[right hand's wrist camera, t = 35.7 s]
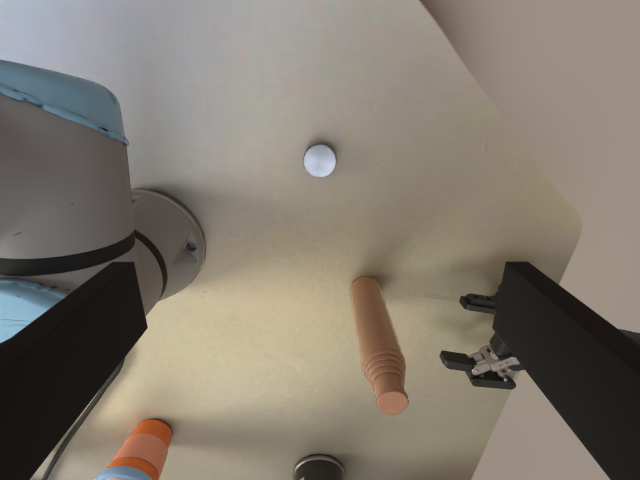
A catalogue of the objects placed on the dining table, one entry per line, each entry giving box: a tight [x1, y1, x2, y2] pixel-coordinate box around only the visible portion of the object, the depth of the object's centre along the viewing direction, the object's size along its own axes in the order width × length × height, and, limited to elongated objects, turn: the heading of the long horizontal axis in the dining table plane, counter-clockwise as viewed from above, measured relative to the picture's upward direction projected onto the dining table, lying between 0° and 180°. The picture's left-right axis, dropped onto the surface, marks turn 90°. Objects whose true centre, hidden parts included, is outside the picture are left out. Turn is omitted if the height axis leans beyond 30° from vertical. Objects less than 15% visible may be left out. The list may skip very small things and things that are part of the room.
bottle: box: [350, 277, 409, 415], centre depth 42 cm, size 4×4×21 cm
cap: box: [304, 143, 336, 177], centre depth 44 cm, size 4×4×2 cm
